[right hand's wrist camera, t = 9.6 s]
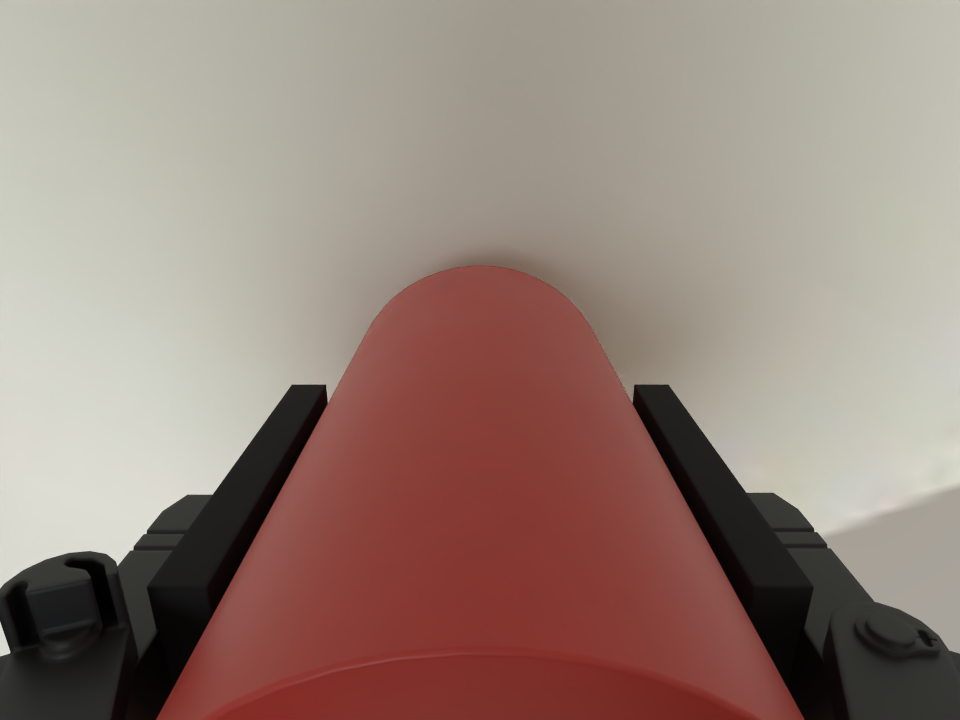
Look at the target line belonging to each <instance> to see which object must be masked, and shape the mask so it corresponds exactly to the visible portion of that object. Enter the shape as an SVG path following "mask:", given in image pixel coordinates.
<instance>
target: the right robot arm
mask: <svg viewBox="0 0 960 720" xmlns="http://www.w3.org/2000/svg"><path fill="white" fill-rule="evenodd" d="M327 404H328V402H327V391H326V385H292V386H291V387H290V388H289V390H288V391H287V392H286V394H285V395H284V397H283V398H282V399H281V401H280V402H279V404H278V405H277V406H276V408H275V409H274V411H273V412H272V413H271V415H270V416H269V417H268V419H267V420H266V422H265V423H264V424H263V426H262V427H261V429H260V430H259V431H258V433H257V434H256V436H255V437H254V438H253V440H252V441H251V442H250V444H249V445H248V447H247V448H246V449H245V451H244V452H243V454H242V455H241V456H240V458H239V459H238V461H237V462H236V463H235V465H234V466H233V467H232V469H231V470H230V472H229V473H228V474H227V476H226V477H225V479H224V480H223V481H222V483H221V484H220V486H219V487H218V488H217V490H216V491H215V492H214V494H213V495H187V496H185V497H184V498H182V499H181V500H179V501H177V502H176V503H174V504H173V505H171V506H170V507H168V508H167V509H165V510H164V511H163V512H162V513H161V514H160V515H159V516H158V518H157V519H156V520H155V521H154V522H153V524H152V525H151V526H150V527H149V529H148V530H147V534H144V535H143V536H142V537H141V538H140V540H139V541H138V542H137V543H136V544H135V546H134V550H133V551H130V552H129V553H128V554H127V555H126V557H125V558H124V559H123V560H122V562H121V563H120V564H119V565H118V566H117V564H116V561H114V560H113V559H112V558H111V557H109V556H108V555H107V554H103V553H97V552H92V551H87V552H76V553H68V554H64V555H61V556H57V557H53V558H50V559H46V560H44V561H42V562H40V563H38V564H36V565H33V566H31V567H29V568H27V569H25V570H23V571H21V572H20V573H19V574H17V575H16V576H15V577H13V578H12V579H10V580H9V581H8V582H6V583H5V584H4V585H3V586H2V587H1V589H0V622H1V625H2V628H3V631H4V634H5V637H6V640H7V643H8V646H9V649H10V651H11V652H10V654H7V655H4V656H1V657H0V720H156V719H157V717H158V715H159V713H160V712H161V710H162V708H163V706H164V704H165V702H166V700H167V699H168V697H169V695H170V693H171V691H172V689H173V688H174V686H175V684H176V682H177V680H178V678H179V677H180V675H181V673H182V671H183V669H184V667H185V666H186V664H187V662H188V660H189V658H190V656H191V655H192V653H193V651H194V649H195V647H196V645H197V643H198V642H199V640H200V638H201V636H202V634H203V632H204V631H205V629H206V627H207V625H208V623H209V621H210V620H211V618H212V616H213V614H214V612H215V610H216V609H217V607H218V605H219V603H220V601H221V599H222V598H223V596H224V594H225V592H226V590H227V588H228V586H229V585H230V583H231V581H232V579H233V577H234V575H235V574H236V572H237V570H238V568H239V566H240V564H241V563H242V561H243V559H244V557H245V555H246V553H247V552H248V550H249V548H250V546H251V544H252V542H253V541H254V539H255V537H256V535H257V533H258V531H259V529H260V528H261V526H262V524H263V522H264V520H265V518H266V517H267V515H268V513H269V511H270V509H271V507H272V506H273V504H274V502H275V500H276V498H277V496H278V495H279V493H280V491H281V489H282V487H283V485H284V484H285V482H286V480H287V478H288V476H289V474H290V473H291V471H292V469H293V467H294V465H295V463H296V461H297V460H298V458H299V456H300V454H301V452H302V450H303V449H304V447H305V445H306V443H307V441H308V439H309V438H310V436H311V434H312V432H313V430H314V428H315V427H316V425H317V423H318V421H319V419H320V417H321V416H322V414H323V412H324V410H325V408H326V406H327ZM633 406H634V408H635V409H636V411H637V413H638V415H639V417H640V419H641V420H642V422H643V424H644V426H645V428H646V430H647V431H648V433H649V435H650V437H651V439H652V441H653V442H654V444H655V446H656V448H657V450H658V452H659V453H660V455H661V457H662V459H663V461H664V463H665V464H666V466H667V468H668V470H669V472H670V474H671V475H672V477H673V479H674V481H675V483H676V485H677V486H678V488H679V490H680V492H681V494H682V496H683V497H684V499H685V501H686V503H687V505H688V507H689V509H690V510H691V512H692V514H693V516H694V518H695V520H696V521H697V523H698V525H699V527H700V529H701V531H702V532H703V534H704V536H705V538H706V540H707V542H708V543H709V545H710V547H711V549H712V551H713V553H714V554H715V556H716V558H717V560H718V562H719V564H720V565H721V567H722V569H723V571H724V573H725V575H726V576H727V578H728V580H729V582H730V584H731V586H732V587H733V589H734V591H735V593H736V595H737V597H738V598H739V600H740V602H741V604H742V606H743V608H744V609H745V611H746V613H747V615H748V617H749V619H750V621H751V622H752V624H753V626H754V628H755V630H756V632H757V633H758V635H759V637H760V639H761V641H762V643H763V644H764V646H765V648H766V650H767V652H768V654H769V655H770V657H771V659H772V661H773V663H774V665H775V666H776V668H777V670H778V672H779V674H780V676H781V677H782V679H783V681H784V683H785V685H786V687H787V688H788V690H789V692H790V694H791V696H792V698H793V699H794V701H795V703H796V705H797V707H798V709H799V710H800V712H801V714H802V716H803V718H804V720H960V654H959V653H955V652H952V651H949V650H948V648H947V647H946V646H945V644H944V643H943V641H942V640H941V638H940V637H939V636H938V635H937V634H936V633H935V632H934V631H932V630H931V629H930V628H929V627H928V626H926V625H925V624H924V623H923V622H921V621H920V620H918V619H916V618H914V617H912V616H911V615H909V614H907V613H905V612H903V611H901V610H899V609H896V608H893V607H890V606H887V605H883V604H880V603H877V602H874V601H873V599H872V598H871V597H870V596H869V595H868V593H867V592H866V591H865V590H864V589H863V587H862V586H861V585H860V584H859V582H858V581H857V580H856V579H855V578H854V576H853V575H852V574H851V573H850V572H849V570H848V569H847V568H846V567H845V566H844V564H843V563H842V562H841V561H840V559H839V558H838V557H837V556H836V555H835V553H834V552H833V551H832V550H831V549H828V548H827V544H826V542H825V541H824V540H823V539H822V538H821V536H820V535H819V534H818V533H817V532H814V528H813V527H812V525H811V524H810V523H809V522H808V521H807V519H806V518H805V517H804V516H803V515H802V513H801V512H800V511H799V510H798V509H797V508H795V507H794V506H792V505H791V504H789V503H788V502H786V501H785V500H783V499H782V498H780V497H779V496H777V495H776V494H774V493H746V492H745V490H744V489H743V488H742V486H741V485H740V484H739V482H738V481H737V479H736V478H735V477H734V475H733V474H732V472H731V471H730V470H729V468H728V467H727V465H726V464H725V463H724V461H723V460H722V459H721V457H720V456H719V454H718V453H717V452H716V450H715V449H714V447H713V446H712V445H711V443H710V442H709V441H708V439H707V438H706V436H705V435H704V434H703V432H702V431H701V429H700V428H699V427H698V425H697V424H696V422H695V421H694V420H693V418H692V417H691V416H690V414H689V413H688V411H687V410H686V409H685V407H684V406H683V404H682V403H681V402H680V400H679V399H678V397H677V396H676V395H675V393H674V392H673V391H672V389H671V388H670V386H669V385H634V395H633Z"/></svg>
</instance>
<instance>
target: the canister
mask: <svg viewBox="0 0 960 720" xmlns="http://www.w3.org/2000/svg"><path fill="white" fill-rule="evenodd" d="M156 720H804V718H803V716H802V714H801V712H800V710H799V709H798V707H797V705H796V703H795V701H794V699H793V698H792V696H791V694H790V692H789V690H788V688H787V687H786V685H785V683H784V681H783V679H782V677H781V676H780V674H779V672H778V670H777V668H776V666H775V665H774V663H773V661H772V659H771V657H770V655H769V654H768V652H767V650H766V648H765V646H764V644H763V643H762V641H761V639H760V637H759V635H758V633H757V632H756V630H755V628H754V626H753V624H752V622H751V621H750V619H749V617H748V615H747V613H746V611H745V609H744V608H743V606H742V604H741V602H740V600H739V598H738V597H737V595H736V593H735V591H734V589H733V587H732V586H731V584H730V582H729V580H728V578H727V576H726V575H725V573H724V571H723V569H722V567H721V565H720V564H719V562H718V560H717V558H716V556H715V554H714V553H713V551H712V549H711V547H710V545H709V543H708V542H707V540H706V538H705V536H704V534H703V532H702V531H701V529H700V527H699V525H698V523H697V521H696V520H695V518H694V516H693V514H692V512H691V510H690V509H689V507H688V505H687V503H686V501H685V499H684V497H683V496H682V494H681V492H680V490H679V488H678V486H677V485H676V483H675V481H674V479H673V477H672V475H671V474H670V472H669V470H668V468H667V466H666V464H665V463H664V461H663V459H662V457H661V455H660V453H659V452H658V450H657V448H656V446H655V444H654V442H653V441H652V439H651V437H650V435H649V433H648V431H647V430H646V428H645V426H644V424H643V422H642V420H641V419H640V417H639V415H638V413H637V411H636V409H635V408H634V406H633V404H632V402H631V400H630V398H629V397H628V395H627V393H626V391H625V389H624V387H623V386H622V384H621V382H620V380H619V378H618V376H617V374H616V373H615V371H614V369H613V367H612V365H611V363H610V362H609V360H608V358H607V356H606V354H605V352H604V351H603V349H602V347H601V345H600V343H599V341H598V340H597V338H596V336H595V334H594V332H593V330H592V329H591V327H590V325H589V324H588V322H587V321H586V319H585V318H584V316H583V315H582V314H581V312H580V311H579V310H578V309H577V308H576V307H575V306H574V305H573V304H572V302H571V301H570V300H569V299H567V298H566V297H565V296H564V295H562V294H561V293H560V292H559V291H558V290H556V289H555V288H553V287H551V286H550V285H548V284H547V283H545V282H543V281H541V280H539V279H537V278H535V277H532V276H530V275H528V274H525V273H522V272H519V271H515V270H512V269H507V268H501V267H494V266H467V267H458V268H453V269H449V270H445V271H441V272H438V273H435V274H433V275H430V276H428V277H425V278H423V279H421V280H419V281H417V282H416V283H414V284H412V285H410V286H408V287H407V288H406V289H404V290H403V291H402V292H400V293H399V294H398V295H396V296H395V297H394V298H393V299H392V300H391V301H390V302H389V303H388V304H387V305H386V306H385V307H384V308H383V309H382V310H381V312H380V313H379V314H378V315H377V317H376V318H375V319H374V321H373V322H372V324H371V326H370V328H369V329H368V331H367V333H366V335H365V336H364V338H363V340H362V342H361V344H360V346H359V347H358V349H357V351H356V353H355V355H354V357H353V359H352V360H351V362H350V364H349V366H348V368H347V370H346V371H345V373H344V375H343V377H342V379H341V381H340V382H339V384H338V386H337V388H336V390H335V392H334V393H333V395H332V397H331V399H330V401H329V403H328V404H327V406H326V408H325V410H324V412H323V414H322V416H321V417H320V419H319V421H318V423H317V425H316V427H315V428H314V430H313V432H312V434H311V436H310V438H309V439H308V441H307V443H306V445H305V447H304V449H303V450H302V452H301V454H300V456H299V458H298V460H297V461H296V463H295V465H294V467H293V469H292V471H291V473H290V474H289V476H288V478H287V480H286V482H285V484H284V485H283V487H282V489H281V491H280V493H279V495H278V496H277V498H276V500H275V502H274V504H273V506H272V507H271V509H270V511H269V513H268V515H267V517H266V518H265V520H264V522H263V524H262V526H261V528H260V529H259V531H258V533H257V535H256V537H255V539H254V541H253V542H252V544H251V546H250V548H249V550H248V552H247V553H246V555H245V557H244V559H243V561H242V563H241V564H240V566H239V568H238V570H237V572H236V574H235V575H234V577H233V579H232V581H231V583H230V585H229V586H228V588H227V590H226V592H225V594H224V596H223V598H222V599H221V601H220V603H219V605H218V607H217V609H216V610H215V612H214V614H213V616H212V618H211V620H210V621H209V623H208V625H207V627H206V629H205V631H204V632H203V634H202V636H201V638H200V640H199V642H198V643H197V645H196V647H195V649H194V651H193V653H192V655H191V656H190V658H189V660H188V662H187V664H186V666H185V667H184V669H183V671H182V673H181V675H180V677H179V678H178V680H177V682H176V684H175V686H174V688H173V689H172V691H171V693H170V695H169V697H168V699H167V700H166V702H165V704H164V706H163V708H162V710H161V712H160V713H159V715H158V717H157V719H156Z"/></svg>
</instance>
